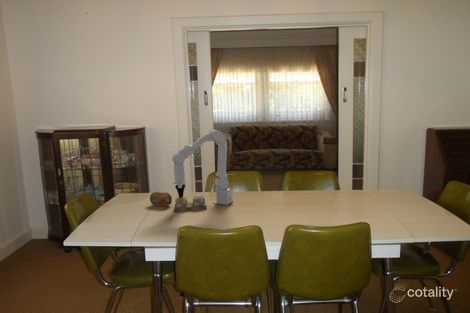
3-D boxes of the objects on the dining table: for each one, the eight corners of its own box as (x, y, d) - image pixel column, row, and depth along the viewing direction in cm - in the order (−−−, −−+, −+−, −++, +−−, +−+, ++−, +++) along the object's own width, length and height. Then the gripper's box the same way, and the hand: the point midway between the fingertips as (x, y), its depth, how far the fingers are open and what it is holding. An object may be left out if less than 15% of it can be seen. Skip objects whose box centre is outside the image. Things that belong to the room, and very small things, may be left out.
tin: (150, 205, 217) (149, 191, 216) (153, 203, 220) (152, 190, 219) (169, 207, 210) (168, 193, 209) (173, 206, 213) (172, 192, 212)
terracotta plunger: (185, 202, 208) (184, 196, 208) (185, 204, 204) (184, 197, 204) (178, 203, 208) (177, 196, 207) (178, 205, 204) (177, 198, 203)
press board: (205, 204, 213) (204, 194, 212) (206, 209, 204) (206, 198, 203) (175, 206, 211) (174, 197, 210) (174, 211, 201) (174, 201, 200)
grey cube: (202, 202, 210) (201, 195, 209) (202, 204, 206) (202, 197, 205) (195, 202, 209) (195, 196, 209) (195, 204, 205) (195, 198, 205)
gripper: (172, 172, 210) (174, 194, 212) (171, 177, 196) (173, 201, 198) (184, 171, 211) (186, 193, 213) (184, 176, 197) (186, 200, 199)
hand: (181, 197), depth 206 cm, fingers closed, pressing on terracotta plunger
